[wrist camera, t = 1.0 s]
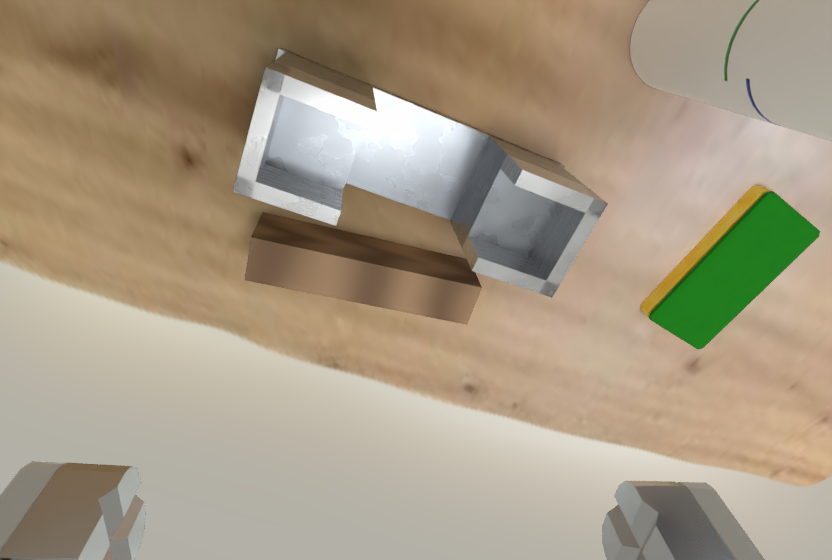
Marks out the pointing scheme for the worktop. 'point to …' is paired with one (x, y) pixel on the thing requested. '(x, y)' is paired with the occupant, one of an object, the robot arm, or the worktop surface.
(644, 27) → the cylindrical container
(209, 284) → the worktop surface
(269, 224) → the rail
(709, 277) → the dish sponge
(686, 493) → the robot arm
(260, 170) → the bracket stand
